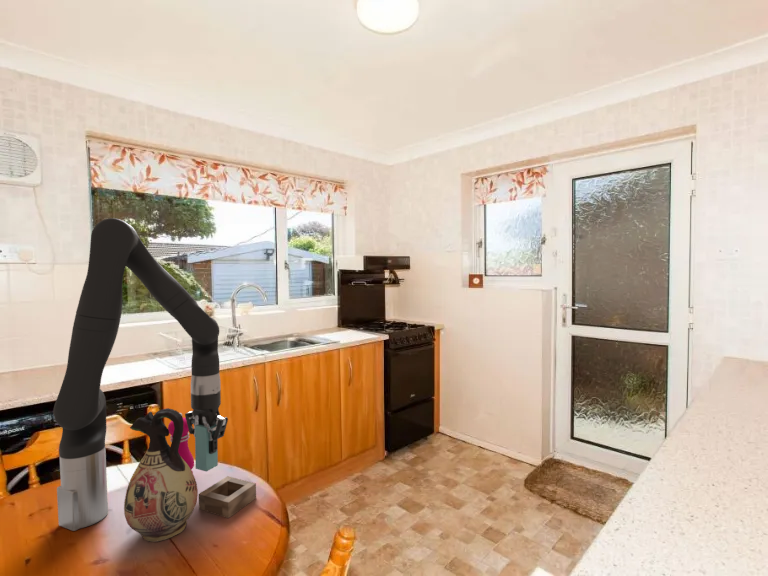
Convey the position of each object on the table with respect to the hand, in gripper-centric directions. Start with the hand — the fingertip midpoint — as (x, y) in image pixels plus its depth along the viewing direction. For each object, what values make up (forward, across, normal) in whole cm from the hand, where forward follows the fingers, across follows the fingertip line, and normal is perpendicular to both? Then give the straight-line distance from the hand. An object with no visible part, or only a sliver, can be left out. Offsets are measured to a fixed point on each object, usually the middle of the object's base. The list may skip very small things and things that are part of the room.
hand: (206, 450), depth 115 cm
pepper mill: (+12, -13, +2) cm, 18 cm away
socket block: (+12, +9, -2) cm, 15 cm away
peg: (+5, 0, 0) cm, 5 cm away
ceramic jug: (+12, +4, -16) cm, 21 cm away
